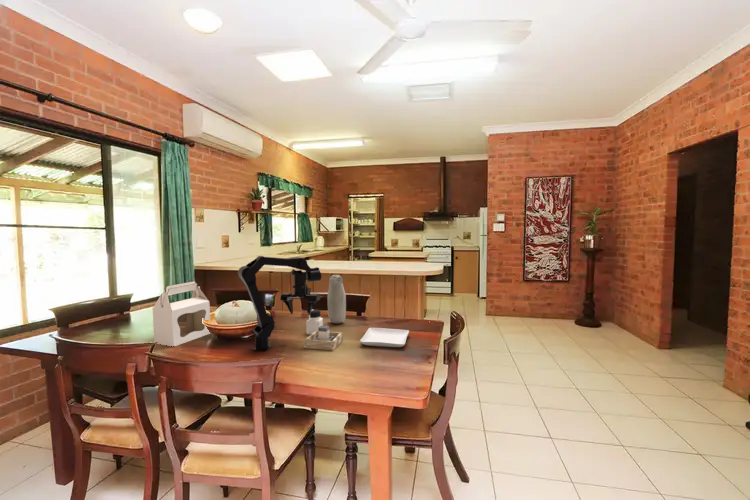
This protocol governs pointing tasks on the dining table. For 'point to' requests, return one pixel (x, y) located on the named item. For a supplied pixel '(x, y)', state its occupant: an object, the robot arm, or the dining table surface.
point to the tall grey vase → (336, 300)
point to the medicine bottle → (314, 321)
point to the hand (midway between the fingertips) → (300, 314)
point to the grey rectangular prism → (323, 332)
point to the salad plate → (385, 337)
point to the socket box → (323, 341)
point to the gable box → (169, 313)
